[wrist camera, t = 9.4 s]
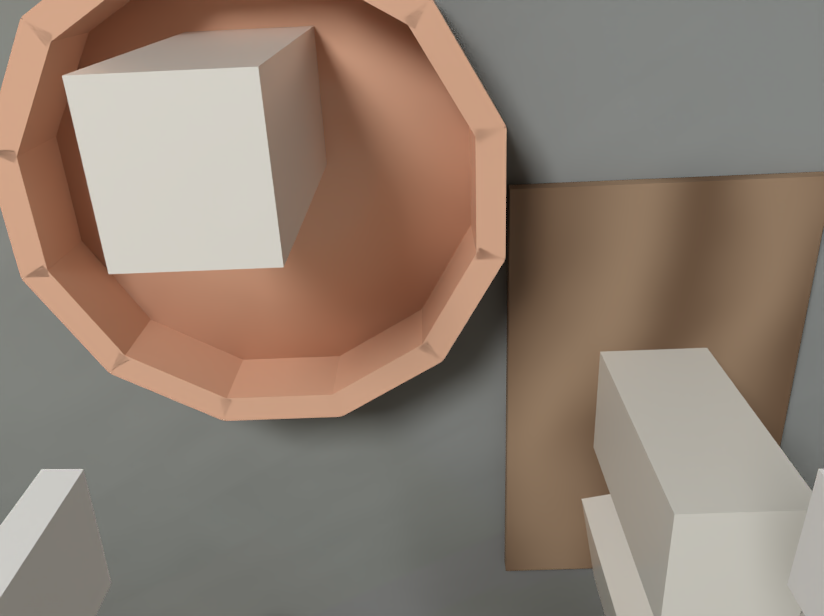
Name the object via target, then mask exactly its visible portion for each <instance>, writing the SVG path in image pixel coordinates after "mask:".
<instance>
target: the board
mask: <svg viewBox="0 0 824 616" xmlns="http://www.w3.org/2000/svg"><path fill="white" fill-rule="evenodd" d="M823 227H824V172H803V173H780V174H756V175H732V176H708V177H685V178H661V179H637V180H614V181H590V182H566V183H543V184H519V185H508V274H507V377H506V481H505V567H506V571H516V570H550V569H583V568H592V561H591V555H590V549H589V543H588V537H587V530H586V524H585V518H584V512H583V505H582V499H584V498H590V497H596V496H602V495H608V494H610V492H609V489H608V486H607V484H606V481H605V478H604V475H603V472H602V470H601V467H600V464H599V461H598V458H597V455H596V453H595V450H594V433H595V418H596V404H597V390H598V375H599V361H600V352H604V351H632V350H659V349H686V348H708V350H709V351H710V352H711V354H712V355H713V356H714V358H715V359H716V360H717V362H718V363H719V365H720V366H721V367H722V369H723V370H724V371H725V373H726V374H727V376H728V377H729V378H730V380H731V381H732V382H733V384H734V385H735V387H736V388H737V389H738V391H739V392H740V393H741V395H742V396H743V397H744V399H745V400H746V402H747V403H748V404H749V406H750V407H751V408H752V410H753V411H754V413H755V414H756V415H757V417H758V418H759V419H760V421H761V422H762V423H763V425H764V426H765V428H766V429H767V430H768V432H769V433H770V434H771V436H772V437H773V439H774V440H775V441H776V443H777V444H778V445H779V447H780V444H781V439H782V434H783V429H784V424H785V419H786V414H787V409H788V403H789V398H790V393H791V388H792V383H793V378H794V373H795V368H796V363H797V358H798V353H799V348H800V343H801V338H802V333H803V328H804V323H805V318H806V312H807V307H808V302H809V297H810V292H811V287H812V282H813V277H814V272H815V267H816V262H817V257H818V252H819V247H820V242H821V237H822V232H823Z"/></svg>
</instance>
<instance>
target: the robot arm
mask: <svg viewBox="0 0 824 616" xmlns="http://www.w3.org/2000/svg"><path fill="white" fill-rule="evenodd" d="M110 585H111V579H110V575H109V571H108V567H107V563H106V559H105V554H104V550H103V546H102V542H101V538H100V534H99V530H98V526H97V522H96V518H95V513H94V509H93V505H92V501H91V497H90V493H89V489H88V485H87V481H86V477H85V472H84V469H41V471H40V472H39V473H38V475H37V476H36V477H35V479H34V480H33V482H32V483H31V484H30V486H29V487H28V488H27V490H26V491H25V493H24V494H23V495H22V497H21V498H20V499H19V501H18V502H17V503H16V505H15V506H14V508H13V509H12V510H11V512H10V513H9V514H8V516H7V517H6V519H5V520H4V521H3V523H2V524H1V525H0V616H96V614H97V612H98V610H99V608H100V606H101V604H102V602H103V600H104V598H105V596H106V594H107V592H108V590H109V588H110ZM787 585H788V587H789V589H790V591H791V592H792V594H793V596H794V598H795V599H796V601H797V603H798V605H799V606H800V608H801V610H802V612H803V613H804V615H805V616H824V469H818V473H817V477H816V480H815V484H814V488H813V491H812V495H811V499H810V502H809V506H808V510H807V513H806V517H805V521H804V524H803V528H802V532H801V535H800V539H799V543H798V546H797V550H796V554H795V557H794V561H793V565H792V568H791V572H790V576H789V579H788V583H787Z"/></svg>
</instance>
